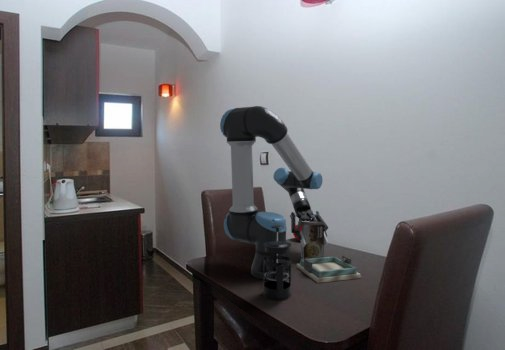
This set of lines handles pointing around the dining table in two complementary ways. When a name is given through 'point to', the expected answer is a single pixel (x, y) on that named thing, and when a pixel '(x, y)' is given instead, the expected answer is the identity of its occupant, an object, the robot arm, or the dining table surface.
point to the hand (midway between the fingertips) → (315, 244)
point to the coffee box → (313, 240)
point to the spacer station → (329, 269)
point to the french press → (277, 270)
